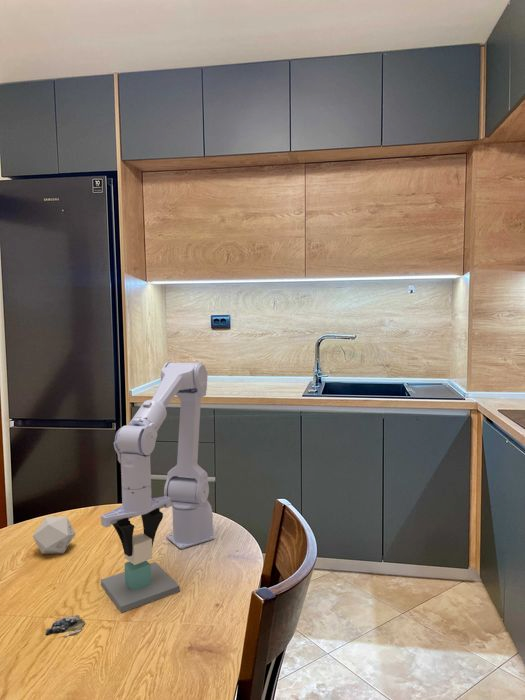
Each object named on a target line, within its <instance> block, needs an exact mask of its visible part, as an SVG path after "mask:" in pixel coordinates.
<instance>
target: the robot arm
mask: <svg viewBox="0 0 525 700" xmlns="http://www.w3.org/2000/svg"><path fill="white" fill-rule="evenodd" d="M207 388H208V371H207V368H206V366H205V364H204V363H203V362H172V361H167V362H165V363H164V364H163V366H162V368H161V370H160V383H159V384H158V386H157V388H156V390H155V392H154V393H153V396H152V398H151V399H147V400H144V401H143V403H142V404H141V405H140V407H139V409H138V410H137V412H136V413H135V414H134V415H133V417H132V419H131V420H130V422H128V425H127V424H126V425H123V426H121V427H120V428H118V430H117V431H116V433H115V436H114V442H113V448H114V451H115V452H116V454H117V461H118V463H119V464H120V472H121V473H120V475H121V476H120V477H121V498H122V499H121V502H122V503H121V504H122V505H121V506H118V507H117V508H115V509H112V510H111V511H109V512H106V513H104V514H101V515H100V524H101V526H103V528H110V527H111V525H112V526H113V528H114V529H115V532H116V533H117V536H118V537H119V539H120V542H121V545H122V550H123V553H124V555H125V554H126V555H127V556H132V552H133V546H132V538H133V536H134V529H135V525H134V524H133V523H131V520H130V519H132V518H135V517H138V516H140V517H141V521H142V526H143V527H142V528H143V534H144V535H146V536H148V537H149V538H151V539H152V548H154V547H153V546H154V542H155V539H156V533H157V531H158V528H159V526H160V524H161V522H162V520H163V518H164V514H163V513H164V512H162V511H160V510H162V509H164V508H166V509H168V508H171V507H172V508H171V510H172V534H169V535H168V534H167V536H166V538H167V539H168V540H169V541H170V542H171V543H173V545H175V546H176V547H177V548H178V549H180V550H184V549H186V548H189V547H192V546H195V545H198V544H202V543H205V542H208V541H211V540H214V539H216V538H215V535H214V517H213V515H214V514H213V507H212V505H211V503H210V501H209V500H208V497H209V493H210V486H209V477H208V472H207V471H206V470H205V469H204V468H202V467H201V466H200V465H199V464H198V460H199V459H198V458H199V441H200V420H201V401H202V398H204V397H205V396H207V390H208V389H207ZM175 396H176V397H177V398H178V400H179V401H180V408H179V422H178V423H179V425H178V427H179V428H178V443H177V459H176V462H177V463H176V465H175V466H174V467H172V468H171V469H169V471H167V475H166V481H165V483H164V487H163V488H164V489H163V496H158V497H153V498H152V475H151V474H152V472H151V469H152V467H151V454H152V453H153V451H154V449H155V447H156V441H157V437H158V431H159V429H160V427H161V426H162V424H163V423H164V421H165V419H166V418H167V415H168V413H167V412H168V411H167V409H166V408H167V407H168V406H169V404H170V403H171V401H173V399H174V398H175Z"/></svg>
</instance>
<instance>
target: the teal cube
mask: <svg viewBox="0 0 525 700" xmlns="http://www.w3.org/2000/svg"><path fill="white" fill-rule="evenodd" d="M150 564H151V563H150V562H149V561H148V560H146V561H144V562H141V563H139V564H136V565H134V564H132V563H131V562H130V561H127V562H124V572H125V582H126V584H127V585H128V586H129V587H130V589H131V590H132V591H133V590H136V589H139V588H141V587H144V586H147V585H150V584H151V565H150Z"/></svg>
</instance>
